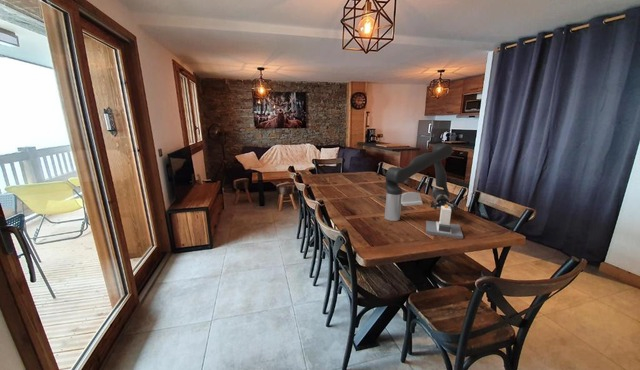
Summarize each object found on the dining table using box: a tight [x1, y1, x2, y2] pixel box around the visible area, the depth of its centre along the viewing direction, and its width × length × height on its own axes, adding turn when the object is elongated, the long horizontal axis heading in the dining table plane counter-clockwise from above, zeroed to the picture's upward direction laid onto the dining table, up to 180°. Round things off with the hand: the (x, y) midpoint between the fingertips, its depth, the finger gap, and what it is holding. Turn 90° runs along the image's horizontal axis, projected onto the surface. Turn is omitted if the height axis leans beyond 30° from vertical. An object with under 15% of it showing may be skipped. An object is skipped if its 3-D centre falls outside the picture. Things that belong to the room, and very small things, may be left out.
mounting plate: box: [425, 220, 464, 240], centre depth 142 cm, size 18×16×2 cm
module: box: [438, 205, 452, 225], centre depth 139 cm, size 5×6×14 cm
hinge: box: [401, 191, 424, 207], centre depth 188 cm, size 17×5×10 cm, turn 101°
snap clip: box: [439, 224, 451, 232], centre depth 136 cm, size 6×2×3 cm, turn 68°
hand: (444, 209), depth 148 cm, fingers open, 8 cm apart
